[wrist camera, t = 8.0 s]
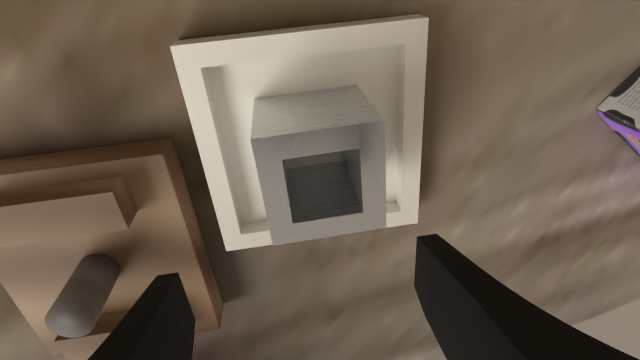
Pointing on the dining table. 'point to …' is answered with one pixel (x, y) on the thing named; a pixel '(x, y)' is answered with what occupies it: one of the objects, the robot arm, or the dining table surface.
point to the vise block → (99, 240)
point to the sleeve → (320, 179)
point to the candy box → (624, 111)
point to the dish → (292, 77)
